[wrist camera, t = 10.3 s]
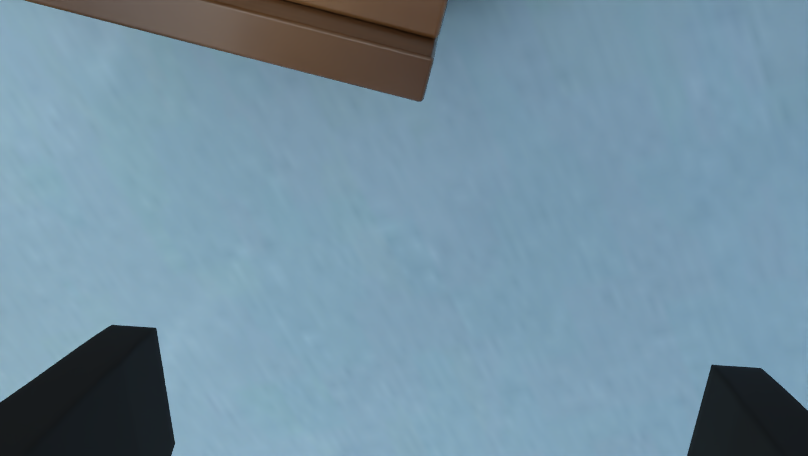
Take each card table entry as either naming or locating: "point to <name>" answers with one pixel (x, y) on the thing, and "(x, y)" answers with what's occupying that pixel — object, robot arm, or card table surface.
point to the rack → (297, 34)
